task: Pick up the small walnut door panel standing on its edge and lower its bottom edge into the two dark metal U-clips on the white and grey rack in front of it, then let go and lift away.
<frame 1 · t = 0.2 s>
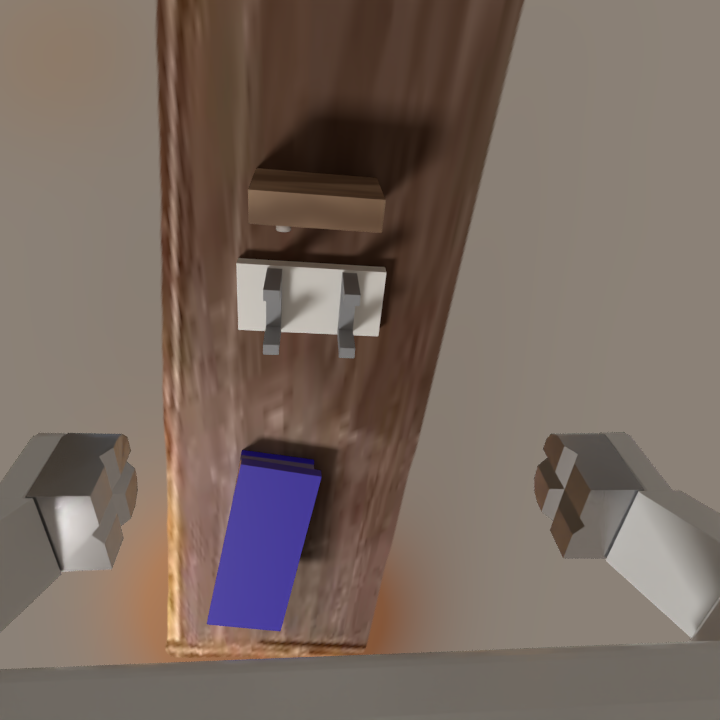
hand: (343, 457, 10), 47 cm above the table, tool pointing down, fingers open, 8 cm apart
white and grey rack: (311, 295, 60), on the table
blue stacked plate part: (264, 518, 80), on the table
door panel: (316, 188, 54), on the table
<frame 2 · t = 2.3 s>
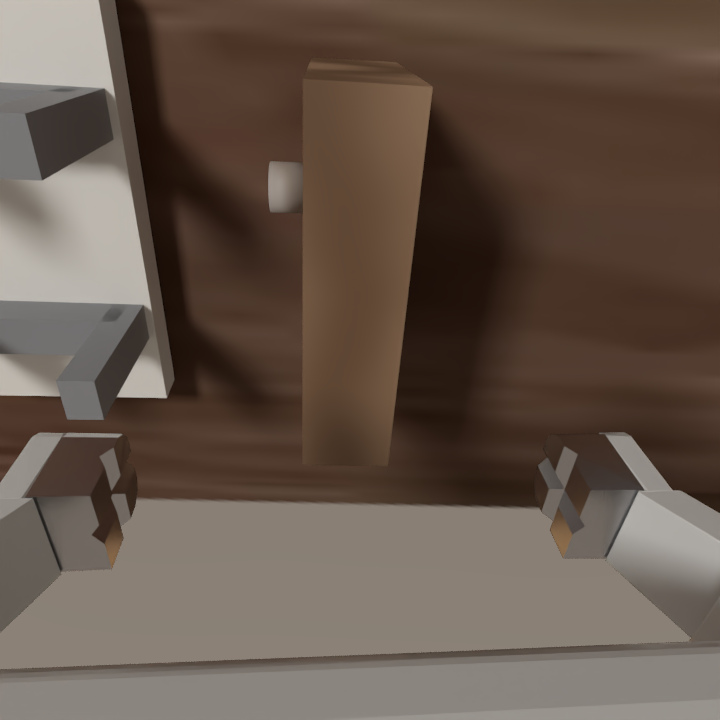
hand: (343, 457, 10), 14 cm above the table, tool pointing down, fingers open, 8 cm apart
white and grey rack: (46, 212, 21), on the table
door panel: (346, 224, 22), on the table
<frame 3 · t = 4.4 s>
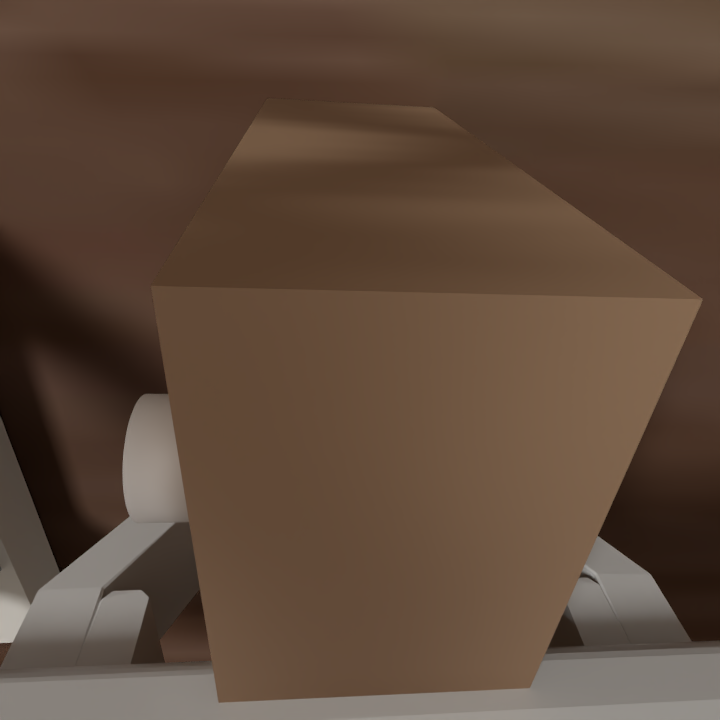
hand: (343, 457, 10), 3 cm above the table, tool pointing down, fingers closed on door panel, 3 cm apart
door panel: (338, 377, 13), on the table, touching gripper
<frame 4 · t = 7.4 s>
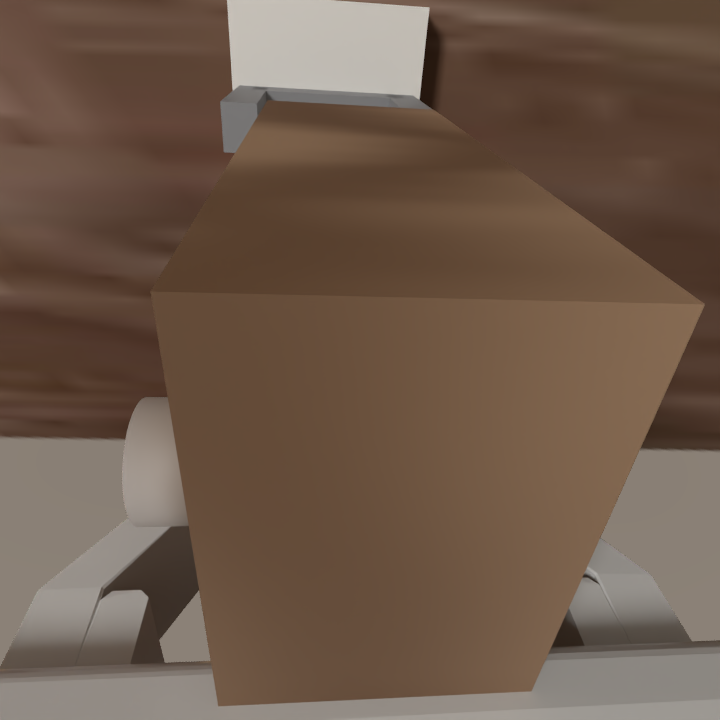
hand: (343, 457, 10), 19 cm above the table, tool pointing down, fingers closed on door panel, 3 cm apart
white and grey rack: (324, 194, 27), on the table
door panel: (338, 380, 13), point 16 cm above the table, touching gripper
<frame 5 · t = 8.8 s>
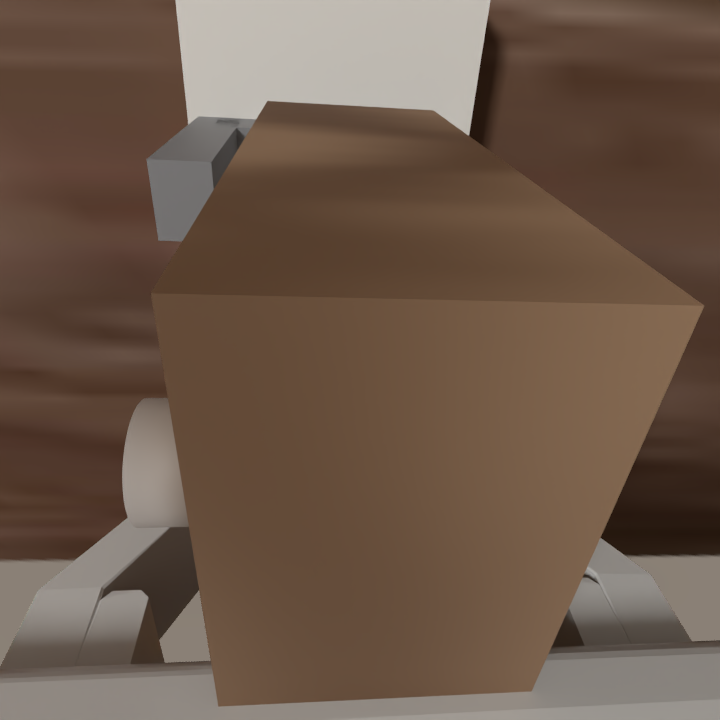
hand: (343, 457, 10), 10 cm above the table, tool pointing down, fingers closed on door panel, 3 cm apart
white and grey rack: (326, 262, 19), on the table
door panel: (338, 380, 13), point 7 cm above the table, touching gripper
when the fingers open (7 cm above the table, at t = 10.3 s): door panel stays where it is, resting on white and grey rack.
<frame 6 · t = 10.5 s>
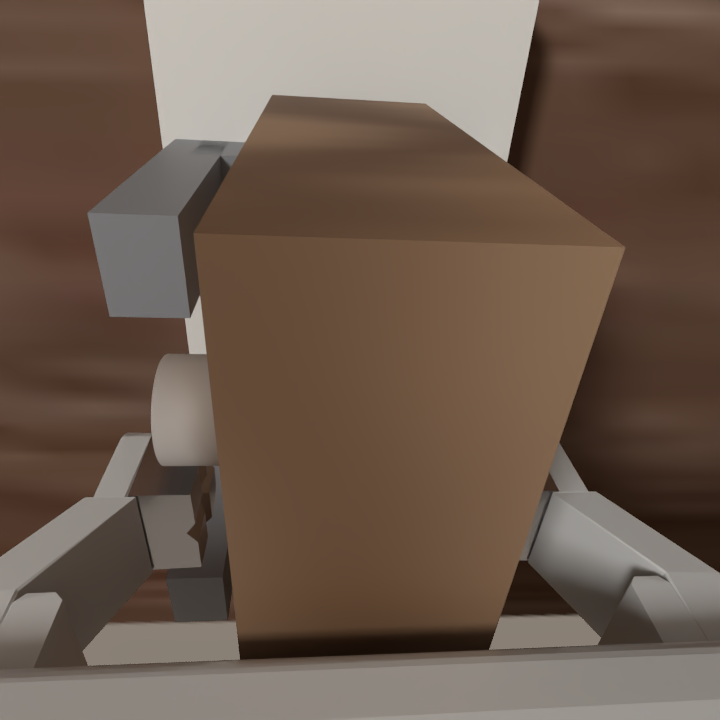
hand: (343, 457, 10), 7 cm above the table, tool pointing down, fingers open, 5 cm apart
white and grey rack: (331, 305, 16), on the table
door panel: (338, 359, 14), point 3 cm above the table, touching white and grey rack
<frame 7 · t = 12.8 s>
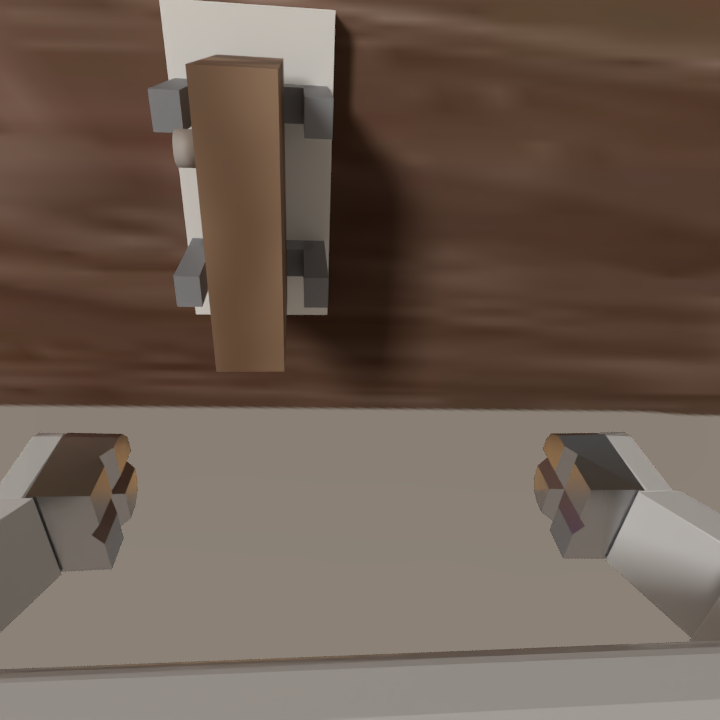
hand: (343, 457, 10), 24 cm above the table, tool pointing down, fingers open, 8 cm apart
white and grey rack: (258, 175, 30), on the table
door panel: (256, 189, 27), point 3 cm above the table, touching white and grey rack
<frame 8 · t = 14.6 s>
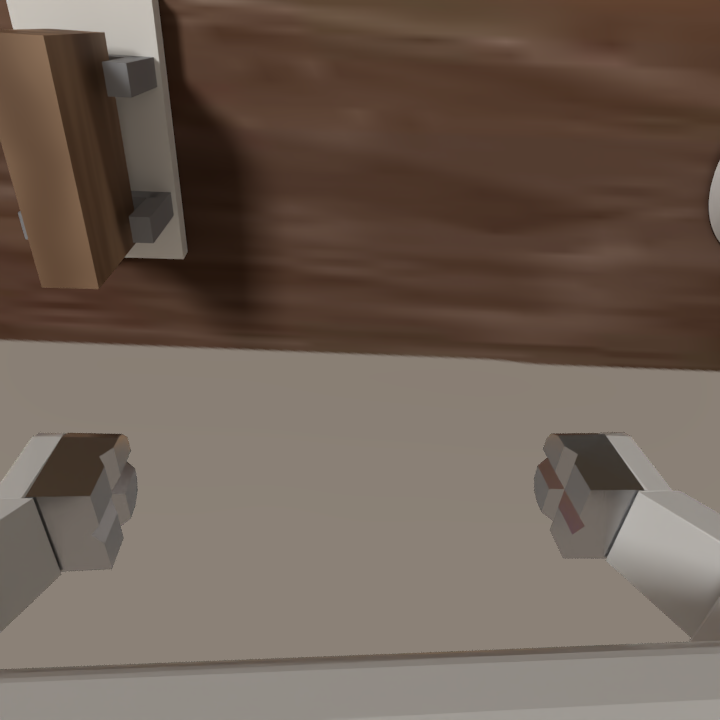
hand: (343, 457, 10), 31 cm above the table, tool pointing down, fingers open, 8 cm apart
white and grey rack: (112, 135, 35), on the table
door panel: (98, 144, 33), point 3 cm above the table, touching white and grey rack
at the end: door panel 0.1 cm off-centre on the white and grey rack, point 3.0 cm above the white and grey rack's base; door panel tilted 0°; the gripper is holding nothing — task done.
